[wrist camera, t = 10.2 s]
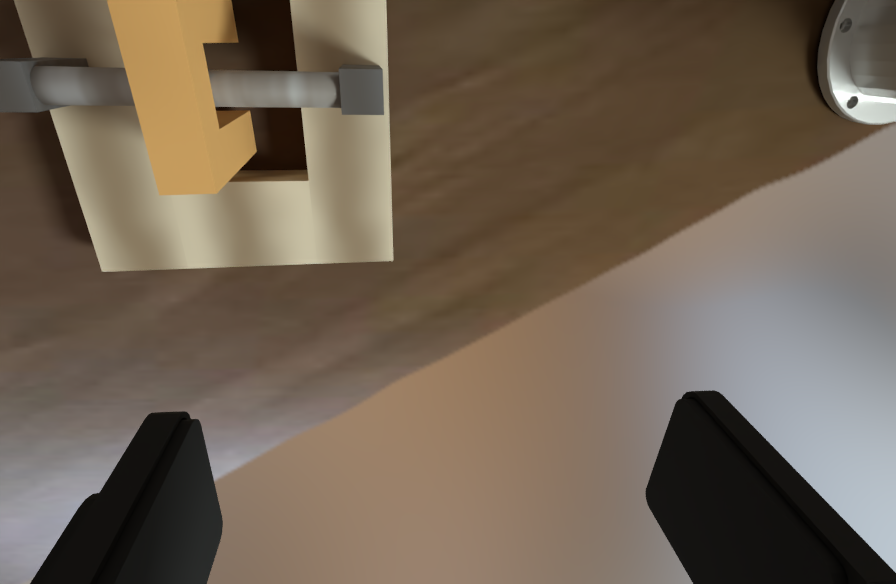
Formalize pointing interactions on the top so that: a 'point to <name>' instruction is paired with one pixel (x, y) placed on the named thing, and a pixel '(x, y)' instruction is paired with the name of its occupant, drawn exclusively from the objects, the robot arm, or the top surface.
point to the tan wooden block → (181, 92)
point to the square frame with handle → (249, 191)
